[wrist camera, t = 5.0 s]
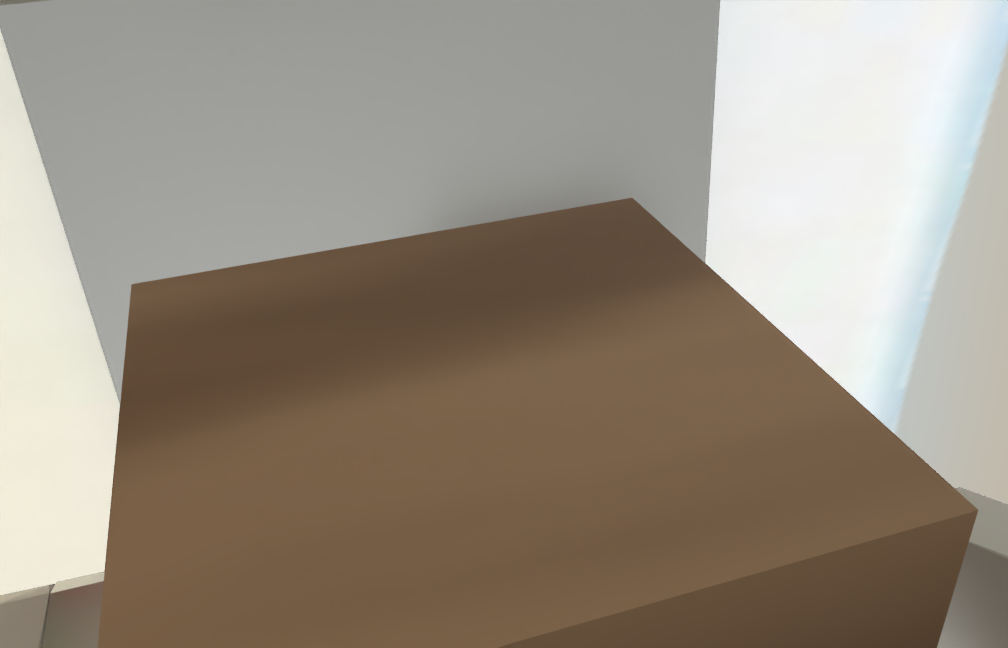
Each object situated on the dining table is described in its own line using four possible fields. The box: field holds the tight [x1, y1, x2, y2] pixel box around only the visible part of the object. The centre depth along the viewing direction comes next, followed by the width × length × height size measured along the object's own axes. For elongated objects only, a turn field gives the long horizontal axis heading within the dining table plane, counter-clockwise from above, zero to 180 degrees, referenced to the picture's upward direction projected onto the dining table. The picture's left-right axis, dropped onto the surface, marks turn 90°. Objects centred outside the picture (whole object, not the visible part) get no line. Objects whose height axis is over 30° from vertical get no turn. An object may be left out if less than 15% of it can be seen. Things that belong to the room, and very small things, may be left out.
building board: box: [0, 0, 720, 402], centre depth 24 cm, size 24×16×6 cm, turn 3°
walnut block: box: [98, 198, 978, 648], centre depth 8 cm, size 5×5×5 cm
